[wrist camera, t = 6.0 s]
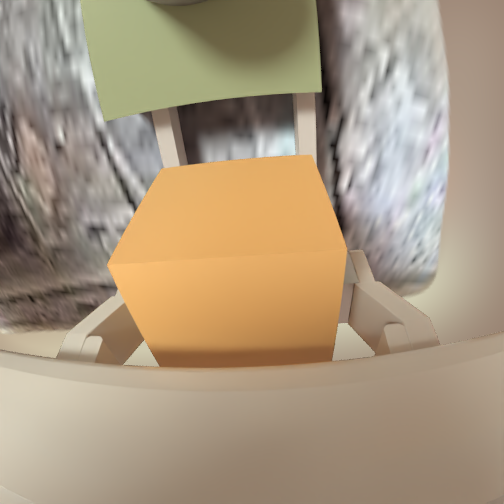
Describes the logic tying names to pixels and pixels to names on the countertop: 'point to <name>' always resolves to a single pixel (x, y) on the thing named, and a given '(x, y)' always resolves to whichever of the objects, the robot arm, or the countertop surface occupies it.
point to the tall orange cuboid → (234, 264)
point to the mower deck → (202, 59)
